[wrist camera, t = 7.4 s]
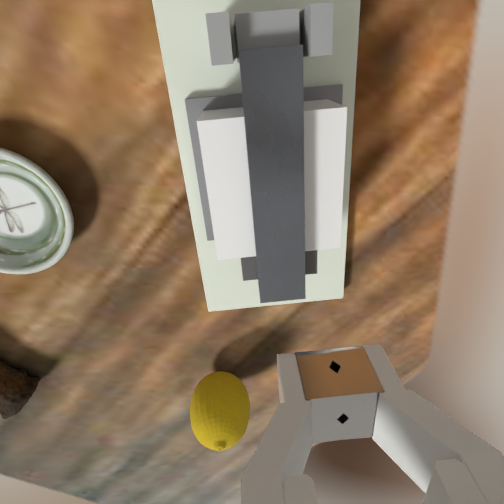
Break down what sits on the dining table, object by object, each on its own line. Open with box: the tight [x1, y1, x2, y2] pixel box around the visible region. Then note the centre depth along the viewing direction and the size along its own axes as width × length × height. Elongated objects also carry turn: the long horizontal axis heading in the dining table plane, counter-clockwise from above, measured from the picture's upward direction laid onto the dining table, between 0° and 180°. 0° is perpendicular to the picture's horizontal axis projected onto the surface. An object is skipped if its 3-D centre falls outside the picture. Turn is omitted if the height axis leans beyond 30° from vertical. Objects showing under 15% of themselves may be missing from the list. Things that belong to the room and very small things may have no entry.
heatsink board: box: [152, 0, 360, 312], centre depth 23 cm, size 24×12×7 cm, turn 5°
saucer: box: [0, 148, 74, 274], centre depth 25 cm, size 10×10×2 cm
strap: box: [238, 45, 306, 303], centre depth 21 cm, size 14×3×2 cm, turn 5°
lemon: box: [190, 371, 250, 451], centre depth 32 cm, size 6×6×8 cm
